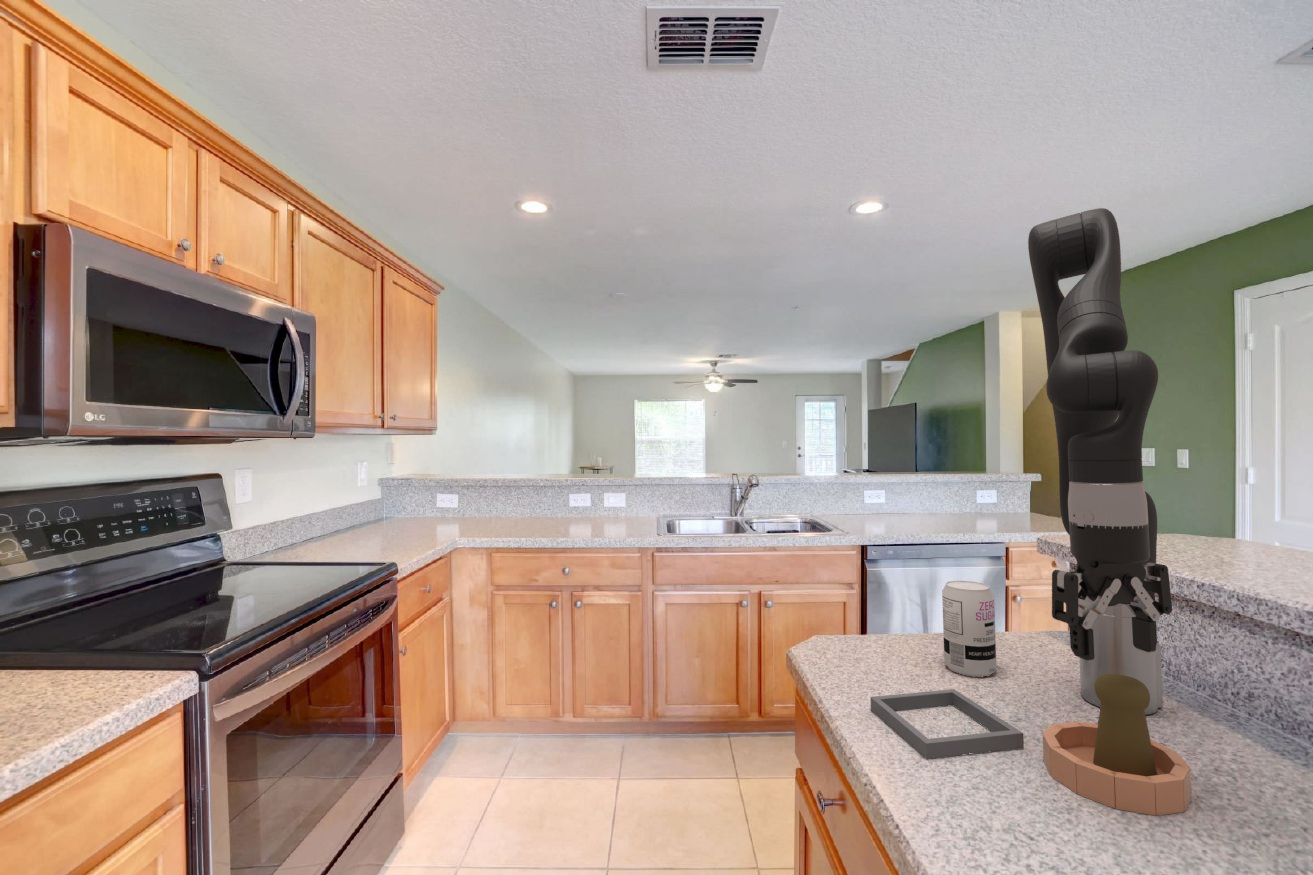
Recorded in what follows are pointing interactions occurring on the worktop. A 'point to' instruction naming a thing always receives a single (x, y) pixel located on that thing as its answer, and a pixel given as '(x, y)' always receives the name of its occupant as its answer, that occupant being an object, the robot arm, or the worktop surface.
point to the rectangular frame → (995, 740)
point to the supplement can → (969, 628)
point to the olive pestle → (1123, 726)
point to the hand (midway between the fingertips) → (1114, 653)
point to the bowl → (1115, 773)
